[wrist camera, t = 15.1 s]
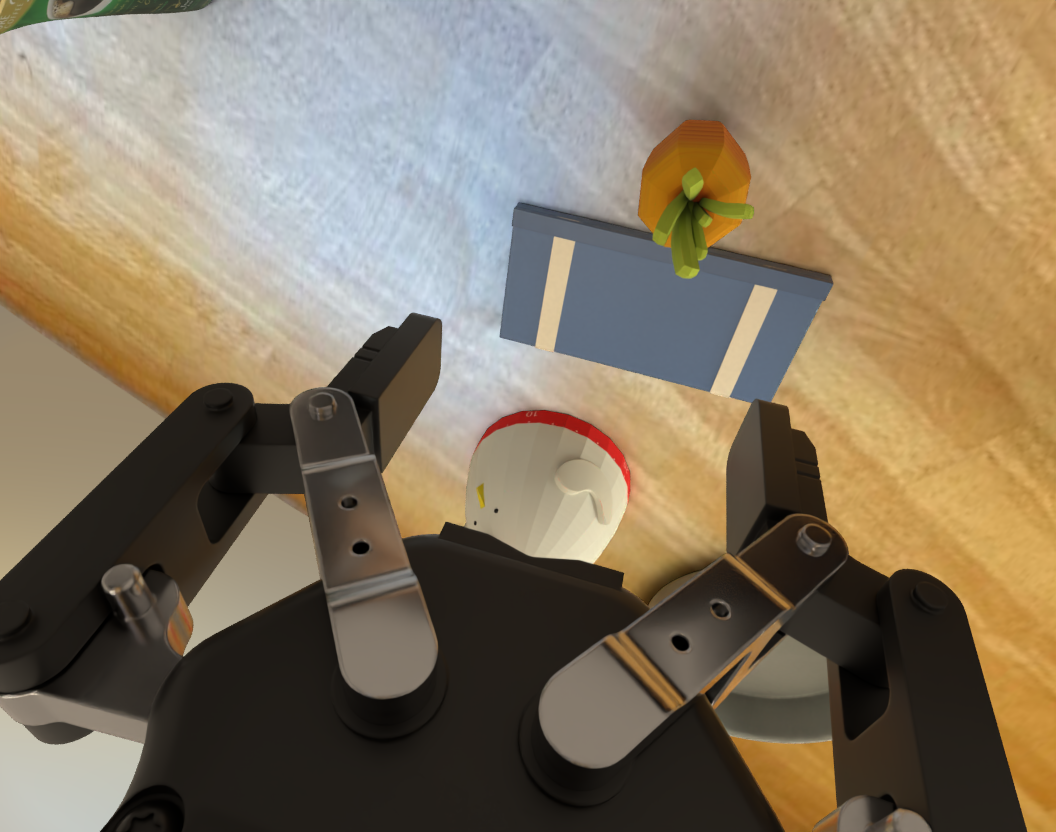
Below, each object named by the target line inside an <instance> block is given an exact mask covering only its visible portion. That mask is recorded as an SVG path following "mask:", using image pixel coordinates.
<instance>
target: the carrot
mask: <svg viewBox="0 0 1056 832" xmlns="http://www.w3.org/2000/svg"><path fill="white" fill-rule="evenodd" d="M750 180H751V174H750V169H749V164H748V161H747V158H746V155H745V153H744V152H743V151H742V149H741V148H740V146H739V145H738V144H737V142H736V141H735V140H734V138H733V137H732V136H731V134H730V133H729V132H728V130H727V129H726V128H725V126H724V125H723V124H722V123H721V122H719V121H705V120H686V121H685V122H683V123H682V124H681V125H680V126H679V127H678V128H676V129H675V130H674V131H673V132H672V133H671V134H670V135H669V136H667V137H666V138H665V139H664V140H663V141H662V142H661V143H660V144H658V145H657V146H656V147H655V148H654V149H653V151H652V152H651V154H650V156H649V157H648V159H647V161H646V163H645V166H644V168H643V171H642V180H641V190H640V199H639V209H638V216H639V218H640V219H641V220H642V221H643V222H644V223H645V225H646V226H647V227H648V228H649V229H650V231H651V232H652V233H653V241H654V242H656V243H657V244H658V245H662V246H664V247H670V248H671V251H672V260H673V265H674V269H675V274H676V275H678V276H680V277H682V278H688V279H691V278H693V277H695V276H696V275H697V274H698V272H699V270H700V268H699V263H698V260H703V259H704V258H706V255H707V252H708V249H707V248H708V247H710V246H711V245H713V244H714V243H715V242H717V241H718V240H720V239H721V238H722V237H724V236H725V235H727V234H728V233H729V232H731V231H732V230H733V229H735V228H736V227H738V226H739V225H740V224H741V222H742V219H752V217H753V214H754V207H752V206H751V205H749V204H745V203H746V198H747V194H748V189H749V184H750Z"/></svg>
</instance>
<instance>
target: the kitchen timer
mask: <svg viewBox="0 0 1056 832" xmlns="http://www.w3.org/2000/svg"><path fill="white" fill-rule="evenodd" d="M629 493H630V472H629V469H628V466H627V464H626V461H625V459H624V456H623V454H622V453H621V452H620V451H619V449H618V448H617V447H616V446H615V444H614V443H613V442H612V441H611V439H610V438H609V437H607V436H606V435H604V434H603V433H602V432H600V431H599V430H598V429H596V428H595V427H594V426H592V425H591V424H589V423H586V422H584V421H582V420H579V419H577V418H575V417H573V416H570V415H567V414H562V413H556V412H551V411H546V410H541V411H522V412H519V413H515V414H512V415H509V416H506V417H503V418H501V419H500V420H499V421H497V422H496V423H494V424H493V425H492V426H490V427H489V428H488V429H487V430H486V432H485V434H484V435H483V437H482V438H481V440H480V441H479V443H478V445H477V447H476V449H475V451H474V453H473V456H472V459H471V463H470V467H469V474H468V480H467V487H466V504H465V515H466V523H465V526H464V527H466V528H470V529H473V530H477V531H480V532H484V533H487V534H490V535H491V536H493V537H495V538H497V539H499V540H501V541H502V542H504V543H506V544H508V545H510V546H512V547H513V548H515V549H517V550H519V551H521V552H523V553H524V554H526V555H529V556H532V557H542V558H557V559H572V560H581V561H585V562H588V563H591V564H593V563H594V562H595V561H596V560H597V559H598V557H599V556H600V555H601V553H602V552H603V551H604V549H605V548H606V546H607V545H608V543H609V542H610V540H611V539H612V537H613V536H614V534H615V532H616V530H617V528H618V526H619V524H620V521H621V519H622V517H623V514H624V512H625V510H626V507H627V504H628V498H629Z"/></svg>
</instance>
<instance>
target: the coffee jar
mask: <svg viewBox="0 0 1056 832" xmlns="http://www.w3.org/2000/svg"><path fill="white" fill-rule="evenodd" d="M211 1H212V0H0V34H2V33H5V32H8V31H10V30H14V29H17V28H20V27H23V26H27V25H31V24H36V23H41V22H47V21H53V20H62V19H72V18H87V17H99V16H111V15H125V14H161V13H177V12H186V11H195V10H199V9H202V8H204V7H205V6H207V5H208V4H209V3H210V2H211Z"/></svg>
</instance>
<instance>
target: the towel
mask: <svg viewBox="0 0 1056 832" xmlns="http://www.w3.org/2000/svg"><path fill="white" fill-rule="evenodd" d="M512 226H513V232H512V240H511V248H510V256H509V265H508V273H507V281H506V289H505V297H504V305H503V313H502V321H501V329H500V338H504V339H508V340H512V341H516V342H520V343H523V344H527V345H531V346H535V348H538V349H542V350H546V351H550V352H558V353H562V354H566V355H570V356H573V357H577V358H581V359H585V360H589V361H593V362H596V363H600V364H604V365H608V366H612V367H616V368H620V369H623V370H627V371H631V372H635V373H639V374H643V375H646V376H650V377H654V378H658V379H662V380H666V381H669V382H673V383H677V384H681V385H685V386H689V387H692V388H696V389H700V390H704V391H708V392H710V393H711V394H715V395H719V396H723V397H727V398H729V397H731V398H735V399H739V400H742V401H746V402H750V403H752V402H753V401H754V400H755V399H760V400H764V401H768V402H771V401H772V399H773V397H774V395H775V393H776V391H777V389H778V387H779V385H780V383H781V381H782V379H783V377H784V375H785V373H786V371H787V369H788V367H789V365H790V363H791V361H792V360H793V358H794V356H795V354H796V352H797V350H798V348H799V346H800V344H801V342H802V340H803V338H804V336H805V334H806V332H807V330H808V328H809V326H810V324H811V322H812V320H813V318H814V316H815V314H816V312H817V310H818V308H819V307H820V305H821V303H822V301H825V299H826V298H827V296H828V294H829V292H830V290H831V288H832V286H833V281H832V278H831V276H830V275H826V274H822V273H817V272H813V271H809V270H805V269H800V268H796V267H792V266H787V265H783V264H779V263H775V262H770V261H766V260H762V259H758V258H753V257H749V256H745V255H740V254H736V253H732V252H728V251H723V250H719V249H715V248H711V247H708V248H707V249H708V252H707V255H706V258H704V259H703V260H698V263H699V268H700V270H699V272H698V274H697V275H696V276H695V277H693V278H691V279H688V278H682V277H680V276H678V275H676V274H675V269H674V265H673V260H672V251H671V248H670V247H664V246H662V245H658V244H657V243H656V242H654V241H653V234H651V233H647V232H642V231H638V230H634V229H629V228H625V227H621V226H617V225H612V224H608V223H604V222H600V221H595V220H591V219H587V218H582V217H578V216H574V215H570V214H565V213H561V212H557V211H553V210H548V209H544V208H540V207H536V206H531V205H527V204H523V203H518V204H517V206H516V207H515V208H514V212H513V220H512Z"/></svg>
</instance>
